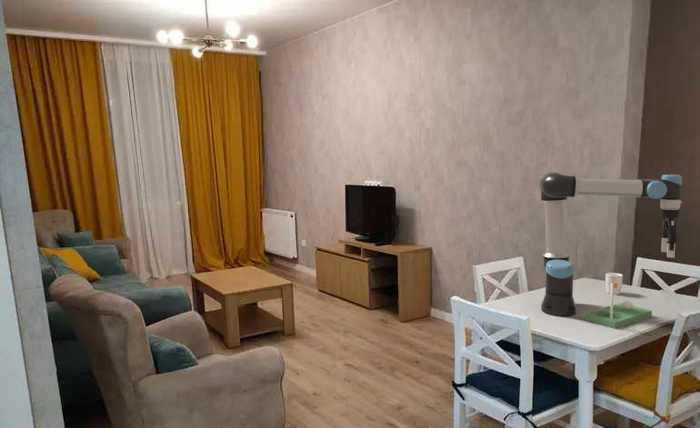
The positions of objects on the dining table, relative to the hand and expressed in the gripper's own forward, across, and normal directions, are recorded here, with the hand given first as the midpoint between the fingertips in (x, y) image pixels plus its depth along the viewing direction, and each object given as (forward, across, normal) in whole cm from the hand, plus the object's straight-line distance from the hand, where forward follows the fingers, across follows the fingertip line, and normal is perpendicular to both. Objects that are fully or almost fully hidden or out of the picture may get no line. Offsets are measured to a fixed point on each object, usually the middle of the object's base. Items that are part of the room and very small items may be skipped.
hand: (667, 254), depth 216 cm
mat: (+26, -19, +21) cm, 39 cm away
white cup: (+26, +24, +19) cm, 40 cm away
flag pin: (+24, -31, +24) cm, 46 cm away
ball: (+22, -13, +17) cm, 30 cm away
